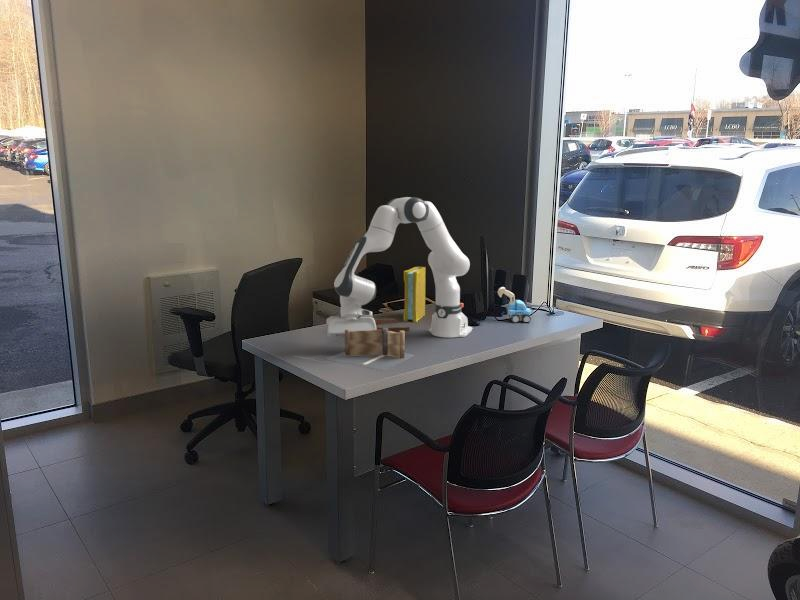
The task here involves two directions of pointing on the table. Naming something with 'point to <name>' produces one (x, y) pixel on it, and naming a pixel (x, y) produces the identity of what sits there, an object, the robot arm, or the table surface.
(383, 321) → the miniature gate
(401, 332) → the fixed fence
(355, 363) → the board
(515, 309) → the toy excavator
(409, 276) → the book
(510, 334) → the table surface
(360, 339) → the fence leaf
